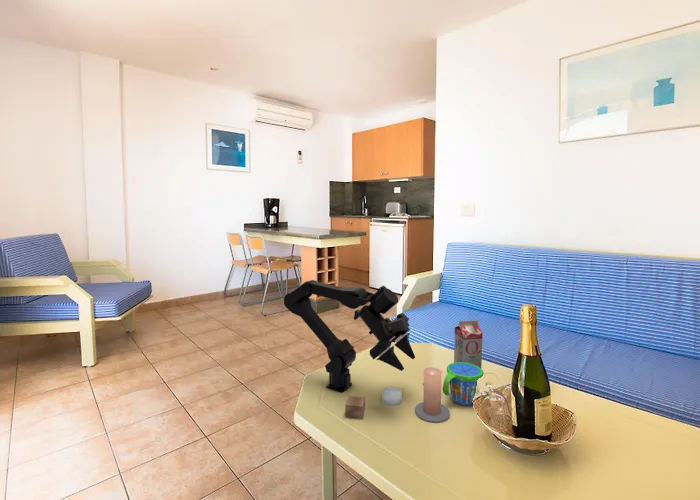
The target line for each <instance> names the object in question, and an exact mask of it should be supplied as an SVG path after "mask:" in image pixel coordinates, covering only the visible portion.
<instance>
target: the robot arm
mask: <svg viewBox="0 0 700 500" xmlns="http://www.w3.org/2000/svg"><path fill="white" fill-rule="evenodd" d="M313 295H315V296H319V297H323V298H326V299H331V300H335V301H337V302H338V303H340V304H341V305H343V306H345V307H347V308H349V309H351V310H354V315H353V320H354V321H356V320H358V319H361V320H362V321H363V323H364V324H365V325H366V327H367V328H368V329H369V331H368V334H369V335H370V336H371V335H373V336H374V337H375V338H376V340H377V343H376V344H375V345H374V346H373V347H372V348H371V349H369V356H370V357H371V359H372V360H377V361H380V362H383V363H385V364H388V365H389V366H391V367H393V368H394V369H397V370H399V371H401V372H403V371H404V370H405V368H404V365H403V364H402V362H401V361H400V359H399V358H398V356H397V354H396V353H395V347H396V348H397V349H399V350H400V351H401V352H402V353H404V355H406V356H407V357H409V358H410V359H412V360H414V359H415V358H416V355H415V353H414V350H413V348H412V346H411V344H410V340H409V339H410V338H409V337H410V334H411V333H410V332H409V331H411V329H410V328H409V327H410V324H409V321H410V318H409V317H407V315H406V314H404V313H403V312H401V313H398V314H397V315H396V318H394V319H393V320H391V319H390V318H389V317H384V316H383V315H385V314H387V312H389V311H390V310H391V309H392V308H394V307H395V306H396V305H397V304H398V303H399V298H398V296H397V293H395V292H394V291H393V290H391V289H389V288H387V287H386V286H385V285H381V286H380V287H379V288H378V289H377V291H376V292H374V293H373V292H370V291H367V290H366V289H365V288H363V287H358V286H357V287H354V286H352V287H350V286H349V287H342V286H338V285H332V284H328V283H326V282H325V283H324V282H320V281H317V280H314V279H310V280H306V281H304V282H303V283H302V284H301V285H299V287H297V288H296V289H294V290H292V291H291V292H289V293H286V294H285V295H284V298H283V305H284V307H285V308H286V309H287V310H288V311H289V312H290V313H292V314H293V315H296V316H299V317H300V318H301V319H302V320H303V322H305V324H306V325H307V326H308V328H309V329H310V330H311V331H312V332H313V334H314V335H315V336H316V337H317V339H318V340H319V341H320V342H321V343H322V344H323V346H324V347H325V348H326V352H327V357H328V359H329V360H330V361H328V363H326V364H325V366H324V369H325V372H326V373H328V381H329V382H328V384H327V385H326V388H327V389H329V390H334V391H336V392H339V393H344V392H345V391H346V390H347V389H349V388H350V387H351V386H352V385H353V383H352V380H351V373H350V368H349V367H351V366H352V365H353V363H354V362H355V361H356V359H357V352H356V350H355V346H353V345H352V344H351V343H350V341H349V340H348V339H347V338H345V339H343V340H342V339H340V338H338V337H337V336H336V335H335V333H334V332H333V331H332V330H331V329H330V327H328V325H327V323H325V321H324V320H323V319H322V318H321V317H320V316H319V315H318V313H317V312H316V311H315V310H314V309H313V308H312V303H311V299H310V297H312V296H313ZM369 303H370V304H369ZM367 304H369V305H367ZM360 307H361V308H360ZM357 308H359V309H357ZM355 309H356V310H355ZM393 343H394V345H392V344H393Z"/></svg>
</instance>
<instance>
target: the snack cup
mask: <svg viewBox="0 0 700 500" xmlns="http://www.w3.org/2000/svg"><path fill="white" fill-rule="evenodd" d="M446 372H447V373H446V375H445V378H444V380H443V385H442V393H443V394H444V395H445V396H446V397H451V399H452V401H453V403H456V404H458V405H461V406H467V407H468V406H472V405H473V404H472V401H473V398H474V396H475V393H476V386H477V380H478V379H479V378H481V377H482V376H483V374H484V371H483V369H482V367H481V368H479V367H478V366H476V365H473V364H470V363H465V362H455V363H454V362H452V363H451V362H450V363H449V364H448V365H447V366H446ZM484 375H485V374H484Z"/></svg>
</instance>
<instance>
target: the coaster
mask: <svg viewBox="0 0 700 500" xmlns="http://www.w3.org/2000/svg"><path fill="white" fill-rule="evenodd" d="M414 414H415V415H416V417H417V418H418V419H420V420H422V421H424V422H427V423H433V424H439V423H444V422H446V421H448V420H449V419H450V416H451V411H450V410H449V408H448V407H447V406H445V405H444V404H442V403H441V413H440V414H439V415H428V414H426V413H425V412H424V411H423V401H422V402H419V403H418V404H416V405H415V407H414Z"/></svg>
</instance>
